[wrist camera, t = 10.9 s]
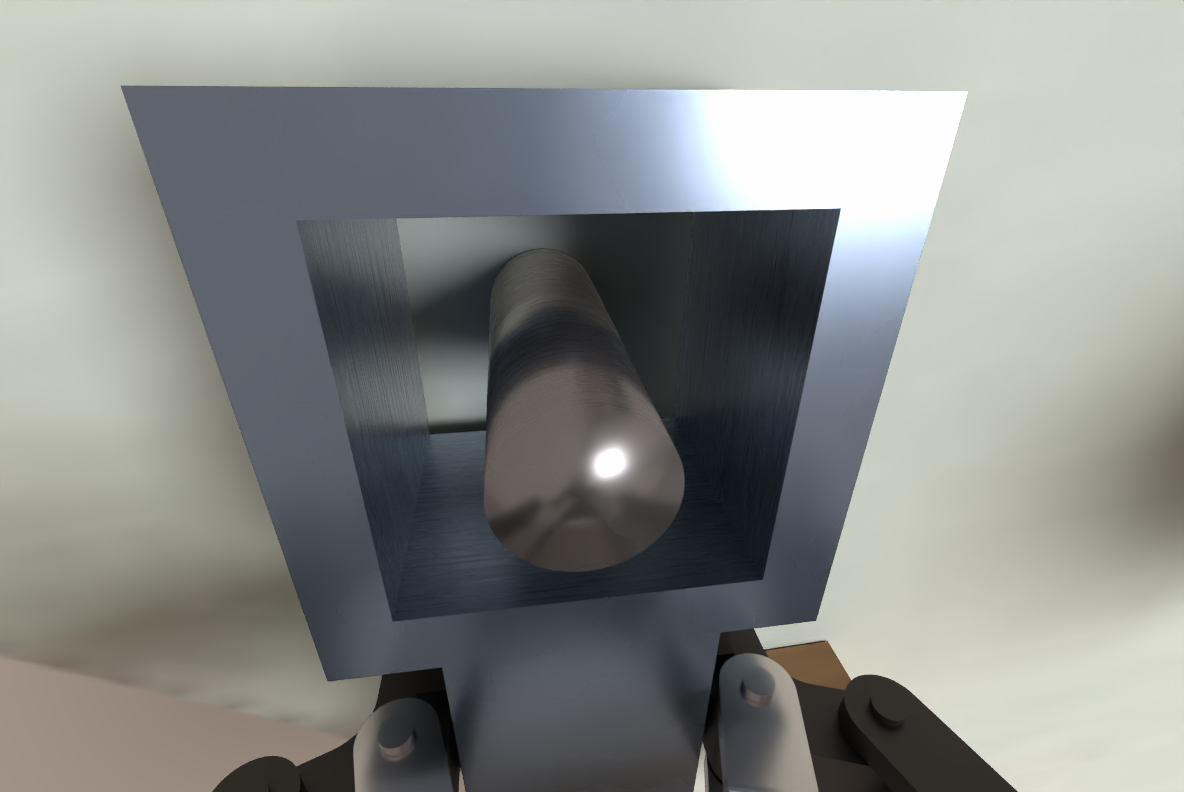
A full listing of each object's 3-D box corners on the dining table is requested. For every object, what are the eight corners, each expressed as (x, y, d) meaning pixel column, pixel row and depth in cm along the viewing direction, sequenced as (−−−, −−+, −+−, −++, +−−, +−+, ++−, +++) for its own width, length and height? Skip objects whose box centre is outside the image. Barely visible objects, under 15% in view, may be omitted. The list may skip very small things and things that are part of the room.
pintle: (485, 252, 10) (470, 419, 5) (594, 246, 10) (690, 399, 5) (496, 353, 11) (495, 581, 6) (595, 344, 11) (679, 559, 6)
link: (304, 88, 8) (120, 85, 4) (763, 91, 9) (967, 90, 5) (454, 803, 17) (442, 1009, 13) (672, 769, 18) (720, 954, 14)
